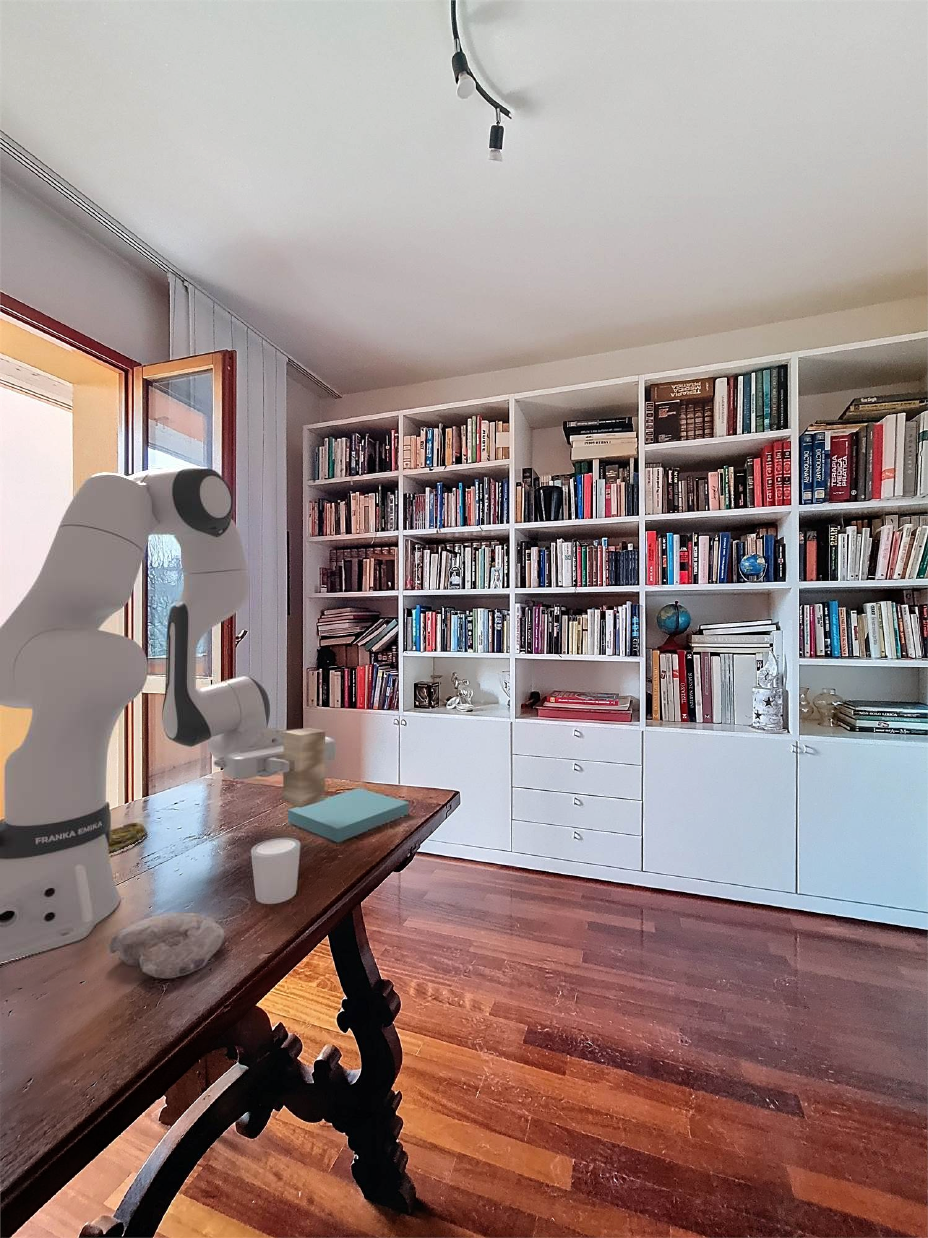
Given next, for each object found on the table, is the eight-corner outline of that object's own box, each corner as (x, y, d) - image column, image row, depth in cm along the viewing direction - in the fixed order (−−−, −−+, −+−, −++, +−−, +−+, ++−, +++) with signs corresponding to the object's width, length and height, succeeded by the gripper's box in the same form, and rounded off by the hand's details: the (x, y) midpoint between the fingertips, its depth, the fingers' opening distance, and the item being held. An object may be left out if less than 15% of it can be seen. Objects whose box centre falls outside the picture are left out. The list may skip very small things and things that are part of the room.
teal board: (337, 842, 96) (337, 828, 96) (288, 822, 106) (288, 809, 106) (409, 814, 110) (408, 802, 110) (359, 799, 120) (359, 788, 120)
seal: (109, 836, 104) (61, 870, 89) (106, 812, 104) (58, 842, 89) (160, 828, 105) (121, 860, 90) (157, 804, 105) (117, 832, 90)
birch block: (299, 807, 88) (300, 735, 89) (283, 801, 92) (283, 731, 92) (325, 800, 92) (325, 730, 93) (308, 794, 96) (308, 727, 96)
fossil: (240, 908, 67) (179, 962, 57) (240, 940, 67) (179, 999, 57) (161, 891, 70) (90, 940, 60) (161, 922, 70) (90, 976, 60)
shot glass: (291, 906, 75) (291, 856, 75) (242, 906, 75) (242, 856, 75) (307, 882, 81) (306, 836, 81) (262, 882, 82) (262, 836, 82)
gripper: (209, 744, 92) (250, 755, 84) (310, 727, 108) (354, 735, 99) (209, 780, 92) (250, 796, 84) (310, 758, 108) (353, 769, 99)
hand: (307, 763), depth 92 cm, fingers closed on birch block, 5 cm apart
